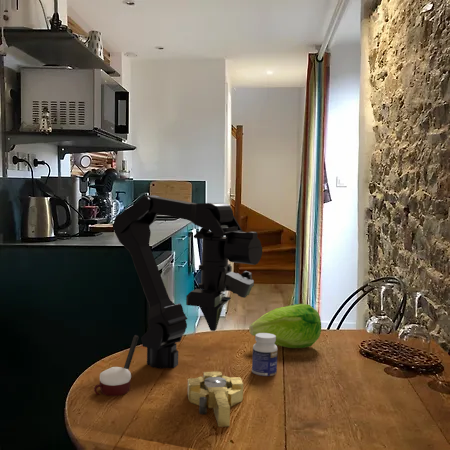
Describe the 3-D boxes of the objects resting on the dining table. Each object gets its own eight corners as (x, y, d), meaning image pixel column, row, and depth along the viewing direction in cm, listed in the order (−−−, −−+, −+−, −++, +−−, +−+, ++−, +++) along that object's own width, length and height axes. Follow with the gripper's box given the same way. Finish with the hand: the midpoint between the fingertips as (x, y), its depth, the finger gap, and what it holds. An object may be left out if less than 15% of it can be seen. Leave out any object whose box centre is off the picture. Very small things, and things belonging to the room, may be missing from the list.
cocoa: (94, 406, 105) (92, 348, 104) (93, 393, 111) (91, 338, 110) (142, 400, 108) (141, 343, 107) (139, 387, 114) (137, 333, 113)
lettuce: (241, 342, 150) (242, 300, 149) (308, 339, 155) (309, 298, 154) (257, 358, 136) (258, 312, 135) (329, 354, 141) (330, 309, 141)
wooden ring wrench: (186, 387, 112) (186, 371, 112) (237, 385, 113) (237, 369, 113) (193, 427, 93) (193, 408, 93) (253, 425, 95) (254, 406, 94)
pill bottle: (275, 383, 119) (276, 339, 119) (250, 380, 120) (251, 337, 120) (277, 374, 125) (279, 332, 124) (253, 372, 126) (254, 330, 125)
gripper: (238, 268, 105) (236, 346, 106) (260, 257, 122) (259, 324, 124) (185, 265, 108) (184, 340, 109) (215, 254, 126) (213, 319, 127)
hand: (213, 330), depth 117 cm, fingers closed
